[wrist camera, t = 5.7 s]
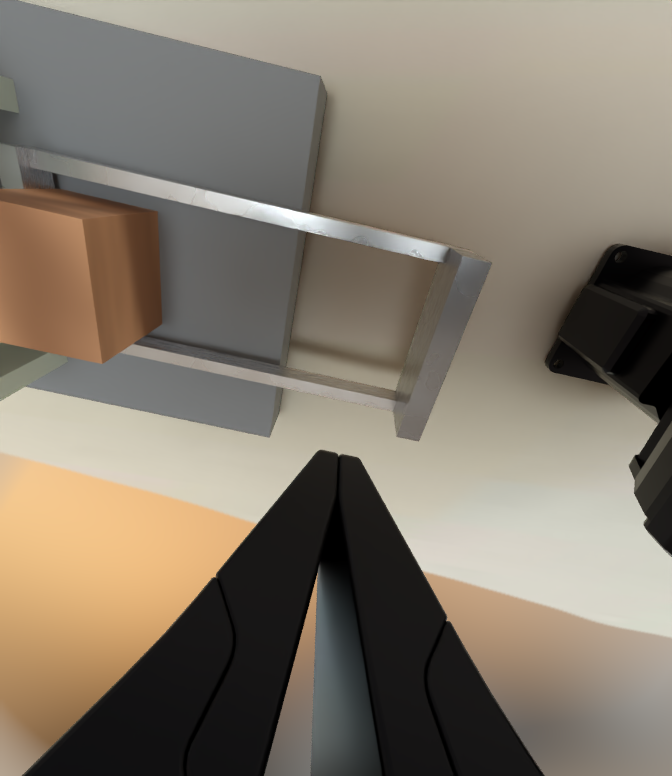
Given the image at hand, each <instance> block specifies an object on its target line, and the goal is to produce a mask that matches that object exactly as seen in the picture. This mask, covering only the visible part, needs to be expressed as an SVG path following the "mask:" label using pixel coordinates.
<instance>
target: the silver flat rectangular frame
mask: <svg viewBox="0 0 672 776" xmlns="http://www.w3.org/2000/svg"><path fill="white" fill-rule="evenodd" d="M52 173H57V174H61V175H65V176H69V177H74V178H78V179H82V180H87V181H91V182H95V183H100V184H104V185H108V186H113V187H117V188H121V189H125V190H130V191H134V192H138V193H143V194H147V195H151V196H156V197H160V198H164V199H168V200H173V201H177V202H181V203H186V204H190V205H194V206H199V207H203V208H207V209H212V210H216V211H220V212H224V213H229V214H233V215H237V216H242V217H246V218H250V219H255V220H259V221H263V222H267V223H272V224H276V225H280V226H285V227H289V228H293V229H298V230H302V231H306V232H311V233H315V234H319V235H323V236H328V237H332V238H336V239H341V240H345V241H349V242H354V243H358V244H362V245H366V246H371V247H375V248H379V249H384V250H388V251H392V252H397V253H401V254H405V255H409V256H414V257H418V258H422V259H427V260H431V261H435V262H439V263H438V266H437V269H436V272H435V275H434V278H433V281H432V284H431V287H430V290H429V293H428V296H427V298H426V301H425V304H424V307H423V310H422V313H421V316H420V319H419V322H418V325H417V328H416V331H415V334H414V337H413V340H412V343H411V346H410V349H409V352H408V355H407V358H406V361H405V364H404V367H403V370H402V373H401V376H400V379H399V381H398V384H397V387H396V390H395V391H394V390H390V389H385V388H380V387H376V386H371V385H367V384H362V383H357V382H353V381H348V380H343V379H339V378H334V377H330V376H325V375H320V374H316V373H311V372H307V371H302V370H297V369H293V368H288V367H284V366H279V365H274V364H270V363H265V362H261V361H256V360H251V359H247V358H242V357H238V356H233V355H228V354H224V353H219V352H214V351H210V350H205V349H201V348H196V347H191V346H187V345H182V344H178V343H173V342H168V341H164V340H159V339H155V338H150V337H145V336H144V337H142V338H141V339H139V340H138V341H136V342H135V343H133V344H132V345H130V346H129V347H127V348H126V349H124V350H123V351H121V352H120V353H123V354H128V355H133V356H137V357H142V358H147V359H151V360H156V361H160V362H165V363H170V364H174V365H179V366H184V367H188V368H193V369H198V370H202V371H207V372H212V373H216V374H221V375H226V376H230V377H235V378H240V379H244V380H249V381H254V382H258V383H263V384H268V385H272V386H277V387H282V388H286V389H291V390H296V391H300V392H305V393H310V394H314V395H319V396H323V397H328V398H333V399H337V400H342V401H347V402H351V403H356V404H361V405H365V406H370V407H375V408H379V409H384V410H389V411H393V413H394V421H395V428H396V436H397V437H400V438H405V439H410V440H414V441H419V440H420V437H421V435H422V433H423V430H424V428H425V425H426V423H427V420H428V418H429V416H430V413H431V411H432V408H433V406H434V403H435V401H436V398H437V396H438V394H439V391H440V389H441V386H442V384H443V381H444V379H445V377H446V374H447V372H448V369H449V367H450V364H451V362H452V360H453V357H454V355H455V352H456V350H457V347H458V345H459V342H460V340H461V338H462V335H463V333H464V330H465V328H466V325H467V323H468V321H469V318H470V316H471V313H472V311H473V308H474V306H475V303H476V301H477V299H478V296H479V294H480V291H481V289H482V286H483V284H484V282H485V279H486V277H487V274H488V272H489V269H490V267H491V264H492V263H491V262H490V261H488V260H486V259H484V258H483V257H481V256H479V255H478V254H476V253H474V252H472V251H471V250H469V249H465V248H461V247H456V246H452V245H448V244H443V243H439V242H435V241H431V240H426V239H422V238H418V237H414V236H409V235H405V234H401V233H397V232H392V231H388V230H384V229H380V228H375V227H371V226H367V225H362V224H358V223H354V222H350V221H345V220H341V219H337V218H333V217H328V216H324V215H320V214H316V213H311V212H307V211H303V210H299V209H294V208H290V207H286V206H281V205H277V204H273V203H269V202H264V201H260V200H256V199H252V198H247V197H243V196H239V195H235V194H230V193H226V192H222V191H218V190H213V189H209V188H205V187H200V186H196V185H192V184H188V183H183V182H179V181H175V180H171V179H166V178H162V177H158V176H154V175H149V174H145V173H141V172H136V171H132V170H128V169H124V168H119V167H115V166H111V165H107V164H102V163H98V162H94V161H90V160H85V159H81V158H77V157H73V156H68V155H64V154H60V153H55V152H51V151H47V150H43V149H38V148H34V147H30V146H24V145H16V144H8V143H0V179H1V183H2V188H3V189H55V186H54V180H53V174H52Z"/></svg>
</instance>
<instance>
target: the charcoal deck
mask: <svg viewBox="0 0 672 776" xmlns="http://www.w3.org/2000/svg"><path fill="white" fill-rule="evenodd" d="M0 76H3V77H6V78H10V79H13V82H14V87H15V92H16V97H17V102H18V107H19V113H15V112H11V111H6V110H2V109H0V143H8V144H16V145H24V146H30V147H34V148H38V149H43V150H47V151H51V152H55V153H60V154H64V155H68V156H73V157H77V158H81V159H85V160H90V161H94V162H98V163H102V164H107V165H111V166H115V167H119V168H124V169H128V170H132V171H136V172H141V173H145V174H149V175H154V176H158V177H162V178H166V179H171V180H175V181H179V182H183V183H188V184H192V185H196V186H200V187H205V188H209V189H213V190H218V191H222V192H226V193H230V194H235V195H239V196H243V197H247V198H252V199H256V200H260V201H264V202H269V203H273V204H277V205H281V206H286V207H290V208H294V209H299V210H303V211H307V212H309V211H310V204H311V197H312V191H313V184H314V178H315V171H316V164H317V158H318V151H319V144H320V138H321V131H322V125H323V118H324V111H325V105H326V98H327V91H326V89H325V86H324V84H323V81H322V79H321V76H318V75H314V74H310V73H306V72H302V71H298V70H294V69H290V68H286V67H282V66H278V65H274V64H270V63H266V62H262V61H258V60H254V59H250V58H246V57H242V56H238V55H234V54H230V53H226V52H222V51H218V50H214V49H210V48H206V47H202V46H198V45H194V44H190V43H186V42H182V41H178V40H174V39H170V38H166V37H162V36H158V35H154V34H150V33H146V32H142V31H138V30H134V29H130V28H126V27H122V26H118V25H114V24H110V23H106V22H102V21H98V20H94V19H90V18H86V17H82V16H78V15H74V14H70V13H66V12H62V11H58V10H54V9H50V8H46V7H42V6H38V5H34V4H30V3H26V2H22V1H18V0H0ZM52 174H53V180H54V186H55V189H63V190H68V191H72V192H76V193H81V194H85V195H89V196H94V197H98V198H102V199H107V200H111V201H115V202H120V203H124V204H128V205H133V206H137V207H141V208H146V209H150V210H154V211H158V233H159V256H160V280H161V304H162V325H160V326H159V327H157V328H156V329H154V330H153V331H151V332H150V333H148V334H147V335H145V337H150V338H155V339H159V340H164V341H168V342H173V343H178V344H182V345H187V346H191V347H196V348H201V349H205V350H210V351H214V352H219V353H224V354H228V355H233V356H238V357H242V358H247V359H251V360H256V361H261V362H265V363H270V364H274V365H279V366H284V367H286V363H287V356H288V350H289V343H290V336H291V330H292V323H293V317H294V310H295V303H296V297H297V290H298V283H299V277H300V270H301V264H302V257H303V250H304V244H305V237H306V231H302V230H298V229H293V228H289V227H285V226H280V225H276V224H272V223H267V222H263V221H259V220H255V219H250V218H246V217H242V216H237V215H233V214H229V213H224V212H220V211H216V210H212V209H207V208H203V207H199V206H194V205H190V204H186V203H181V202H177V201H173V200H168V199H164V198H160V197H156V196H151V195H147V194H143V193H138V192H134V191H130V190H125V189H121V188H117V187H113V186H108V185H104V184H100V183H95V182H91V181H87V180H82V179H78V178H74V177H69V176H65V175H61V174H57V173H52ZM0 189H3V188H2V183H1V179H0ZM67 361H68V362H66V363H65V364H63V365H61V366H60V367H58V368H56V369H54V370H53V371H51V372H49V373H47V374H46V375H44V376H42V377H41V378H39V379H37V380H35V381H34V382H32V383H30V384H29V385H27V386H25V387H30V388H35V389H40V390H44V391H49V392H54V393H59V394H64V395H68V396H73V397H78V398H83V399H87V400H92V401H97V402H102V403H107V404H111V405H116V406H121V407H126V408H131V409H135V410H140V411H145V412H150V413H154V414H159V415H164V416H169V417H174V418H178V419H183V420H188V421H193V422H197V423H202V424H207V425H212V426H217V427H221V428H226V429H231V430H236V431H241V432H245V433H250V434H255V435H260V436H264V437H269V438H270V435H271V432H272V430H273V427H274V425H275V422H276V419H277V417H278V414H279V409H280V403H281V396H282V389H283V388H282V387H277V386H272V385H268V384H263V383H258V382H254V381H249V380H244V379H240V378H235V377H230V376H226V375H221V374H216V373H212V372H207V371H202V370H198V369H193V368H188V367H184V366H179V365H174V364H170V363H165V362H160V361H156V360H151V359H147V358H142V357H137V356H133V355H128V354H123V353H118V354H117V355H115V356H114V357H112V358H111V359H109V360H108V361H106V362H105V363H103V364H100V363H95V362H90V361H85V360H81V359H76V358H71V357H67Z"/></svg>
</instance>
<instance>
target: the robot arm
mask: <svg viewBox="0 0 672 776" xmlns="http://www.w3.org/2000/svg"><path fill="white" fill-rule="evenodd" d="M619 252H622V255H621V257H620V259H619V260H617V261H615V256H616V255H617V254H618V253H619ZM557 360H560V362H559V363H558V364H557V365H554V363H555V362H556V361H557ZM545 364H546V366H547V368H548V369H549V370H550V371H552V372H554V373H559V374H563V375H568V376H572V377H576V378H581V379H585V380H590V381H594V382H599V383H603V384H608V385H610V386H612V387H613V388H614V389H615V390H617V391H618V392H619V393H620V394H622V395H623V396H624V397H625V398H627V399H628V400H629V401H630V402H632V403H633V404H634V405H635V406H637V407H638V408H639V409H640V410H642V411H643V412H644V413H645V414H647V415H648V416H649V417H650V418H652V419H653V420H654V421H655V422H657V423H658V425H657V427H656V428H655V430H654V432H653V433H652V435H651V436H650V438H649V440H648V441H647V443H646V444H645V446H644V448H643V449H642V451H641V452H640V454H639V455H635V456H634V458H633V459H632V461H631V463H630V464H629V468H630V470H631V472H632V475H633V477H634V479H635V487H634V494H635V496H636V498H637V500H638V502H639V504H640V506H641V508H642V510H643V512H644V514H645V515H646V516H647V519H646V520H645V521H644V526H645V528H646V530H647V531H648V533H649V534H650V535H651V536H652V537H653V538H654V540H655V541H656V542H657V543H658V544H659V545H660V546H661V547H662V548H663V549H664V550H665V551H666V552H667V553H668V554H669V555H670V556H671V557H672V256H670V255H666V254H661V253H657V252H653V251H649V250H645V249H640V248H636V247H632V246H628V245H623V244H617V245H614V246H612V247H611V248H609V249H608V250H607V252H606V253H605V255H604V256H603V258H602V260H601V262H600V264H599V265H598V267H597V269H596V271H595V273H594V274H593V276H592V278H591V280H590V282H589V283H588V285H587V287H585V288H584V289H583V290H582V292H581V294H580V296H579V298H578V299H577V301H576V303H575V305H574V307H573V308H572V310H571V312H570V314H569V316H568V317H567V319H566V321H565V323H564V325H563V326H562V328H561V330H560V332H559V337H558V339H557V341H556V343H555V344H554V346H553V348H552V350H551V352H550V353H549V355H548V357H547V359H546V362H545ZM317 573H318V578H317V579H318V580H317V582H318V583H317V608H316V636H315V665H314V693H313V722H312V750H311V776H545V775H544V774H543V772H542V771H541V769H540V768H539V766H538V765H537V763H536V762H535V760H534V759H533V757H532V756H531V754H530V753H529V751H528V750H527V748H526V746H525V745H524V743H523V742H522V741H521V739H520V737H519V736H518V734H517V733H516V731H515V729H514V728H513V726H512V725H511V723H510V721H509V720H508V718H507V717H506V715H505V714H504V712H503V710H502V709H501V708H500V706H499V704H498V703H497V701H496V699H495V698H494V696H493V695H492V693H491V692H490V690H489V688H488V686H487V685H486V683H485V681H484V680H483V678H482V676H481V674H480V673H479V671H478V669H477V668H476V666H475V664H474V663H473V661H472V659H471V657H470V656H469V654H468V652H467V651H466V649H465V647H464V645H463V644H462V642H461V640H460V638H459V636H458V635H457V633H456V631H455V629H454V627H453V626H452V624H451V622H450V621H446V620H447V615H446V613H445V611H444V610H443V608H442V606H441V604H440V603H439V601H438V599H437V597H436V595H435V594H434V592H433V590H432V588H431V586H430V584H429V583H428V581H427V579H426V577H425V575H424V574H423V572H422V570H421V568H420V566H419V565H418V563H417V561H416V559H415V557H414V556H413V554H412V552H411V550H410V548H409V547H408V545H407V543H406V541H405V539H404V538H403V536H402V534H401V532H400V530H399V529H398V527H397V525H396V523H395V521H394V520H393V518H392V516H391V514H390V512H389V511H388V509H387V507H386V505H385V503H384V502H383V500H382V498H381V496H380V494H379V493H378V491H377V489H376V487H375V485H374V484H373V482H372V480H371V478H370V476H369V475H368V473H367V471H366V469H365V467H364V466H363V464H362V462H361V460H360V459H359V458H358V457H354V456H349V455H344V454H341V455H339V457H338V454H337V453H335V452H330V451H325V450H319V451H317V453H316V454H315V455H314V456H313V457H312V459H311V460H310V461H309V462H308V463H307V465H306V466H305V467H304V468H303V469H302V471H301V472H300V473H299V474H298V475H297V477H296V478H295V479H294V480H293V481H292V483H291V484H290V485H289V486H288V487H287V489H286V490H285V491H284V492H283V494H282V495H281V496H280V497H279V498H278V500H277V501H276V502H275V503H274V504H273V506H272V507H271V508H270V509H269V510H268V512H267V513H266V514H265V515H264V516H263V518H262V519H261V520H260V521H259V522H258V524H257V525H256V526H255V527H254V529H253V530H252V531H251V532H250V533H249V535H248V536H247V537H246V538H245V539H244V541H243V542H242V543H241V544H240V546H239V547H238V548H237V549H236V550H235V551H234V553H233V554H232V555H231V556H230V557H229V559H228V560H227V561H226V562H225V563H224V565H223V566H222V567H221V568H220V570H219V571H218V572H217V574H216V578H215V577H213V578H212V579H211V580H210V581H209V582H208V584H207V585H206V586H205V587H204V588H203V590H202V591H201V592H200V593H199V594H198V596H197V597H196V598H195V599H194V600H193V601H192V603H191V604H190V605H189V606H188V607H187V608H186V609H185V611H184V612H183V613H182V614H181V615H180V616H179V617H178V619H177V620H176V621H175V622H174V623H173V624H172V626H170V628H169V629H168V630H167V631H166V632H165V633H164V634H163V635H162V636H161V637H160V638H159V640H158V641H157V642H156V643H155V644H154V645H153V646H152V647H151V648H150V649H149V650H148V651H147V652H146V653H145V654H144V655H143V656H142V657H141V658H140V659H139V660H138V661H137V662H136V663H135V664H134V665H133V666H132V668H130V669H129V670H128V671H127V673H126V674H125V675H124V676H123V677H122V678H121V679H119V681H118V682H116V684H114V686H112V688H110V689H109V690H108V691H107V692H106V693H105V694H104V695H103V696H102V697H101V698H100V699H99V700H98V701H97V702H96V703H95V704H94V705H93V706H92V707H91V708H90V709H89V710H88V711H87V712H86V713H85V714H84V715H83V716H82V717H81V718H80V719H79V720H78V721H77V722H76V723H75V724H74V725H73V726H72V727H71V728H70V729H69V730H68V731H67V732H66V733H65V734H64V735H63V736H62V737H61V738H60V739H59V740H58V741H57V742H56V743H55V744H54V745H52V746H51V747H50V748H49V749H48V750H47V751H46V752H45V753H44V754H43V755H42V756H41V757H40V759H38V760H37V761H36V762H35V763H34V764H33V765H32V766H31V767H30V768H29V769H28V770H27V771H26V772H25V773H24V774H23V775H22V776H264V773H265V769H266V766H267V762H268V758H269V755H270V751H271V747H272V743H273V739H274V736H275V732H276V728H277V724H278V720H279V717H280V712H281V709H282V705H283V701H284V697H285V694H286V690H287V686H288V682H289V679H290V675H291V671H292V667H293V663H294V660H295V656H296V652H297V648H298V645H299V641H300V637H301V633H302V629H303V626H304V622H305V618H306V614H307V610H308V607H309V603H310V599H311V595H312V591H313V588H314V584H315V580H316V576H317Z"/></svg>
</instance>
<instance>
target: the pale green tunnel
mask: <svg viewBox="0 0 672 776" xmlns="http://www.w3.org/2000/svg"><path fill="white" fill-rule="evenodd" d="M0 109H2V110H6V111H11V112H15V113H19V107H18V102H17V97H16V92H15V87H14V82H13V79H10V78H6V77H3V76H0ZM66 362H68V361H67V356H62V355H57V354H53V353H48V352H43V351H39V350H34V349H29V348H24V347H20V346H15V345H10V344H6V343H1V342H0V401H1V400H3V399H4V398H6V397H8V396H10V395H11V394H13V393H15V392H16V391H18V390H20V389H22V388H23V387H25V386H27V385H29V384H30V383H32V382H34V381H35V380H37V379H39V378H41V377H42V376H44V375H46V374H47V373H49V372H51V371H53V370H54V369H56V368H58V367H60V366H61V365H63V364H65V363H66Z"/></svg>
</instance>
